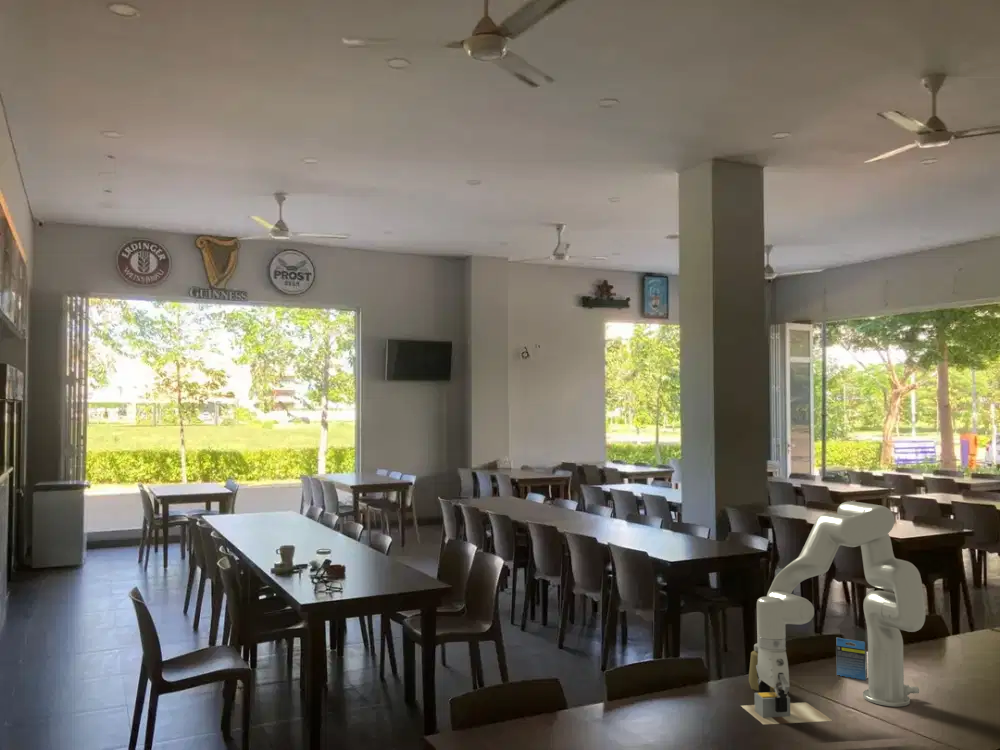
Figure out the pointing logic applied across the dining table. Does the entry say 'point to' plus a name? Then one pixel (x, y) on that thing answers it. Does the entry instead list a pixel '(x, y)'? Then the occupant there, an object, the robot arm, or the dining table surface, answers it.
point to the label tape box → (851, 659)
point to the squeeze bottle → (754, 670)
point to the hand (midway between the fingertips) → (772, 705)
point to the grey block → (769, 705)
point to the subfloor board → (791, 714)
